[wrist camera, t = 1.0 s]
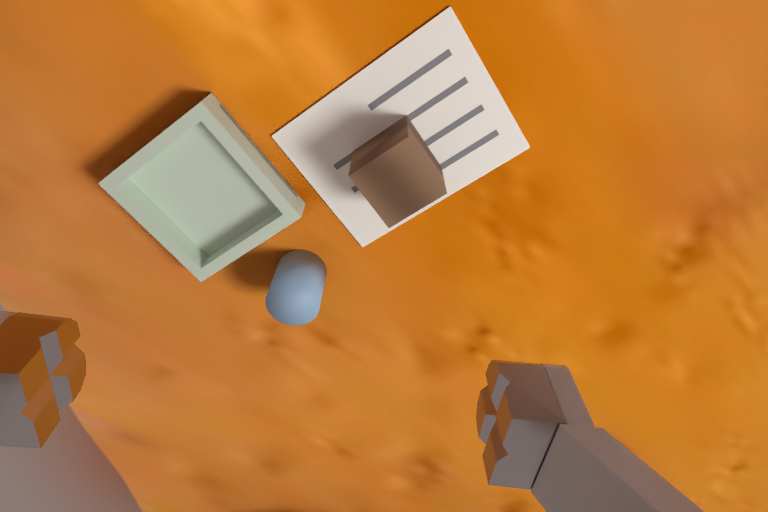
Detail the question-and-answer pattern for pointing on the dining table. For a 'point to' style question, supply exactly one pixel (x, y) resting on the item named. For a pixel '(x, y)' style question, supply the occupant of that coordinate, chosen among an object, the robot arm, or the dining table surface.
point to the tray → (205, 190)
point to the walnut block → (397, 172)
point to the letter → (424, 109)
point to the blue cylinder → (296, 288)
